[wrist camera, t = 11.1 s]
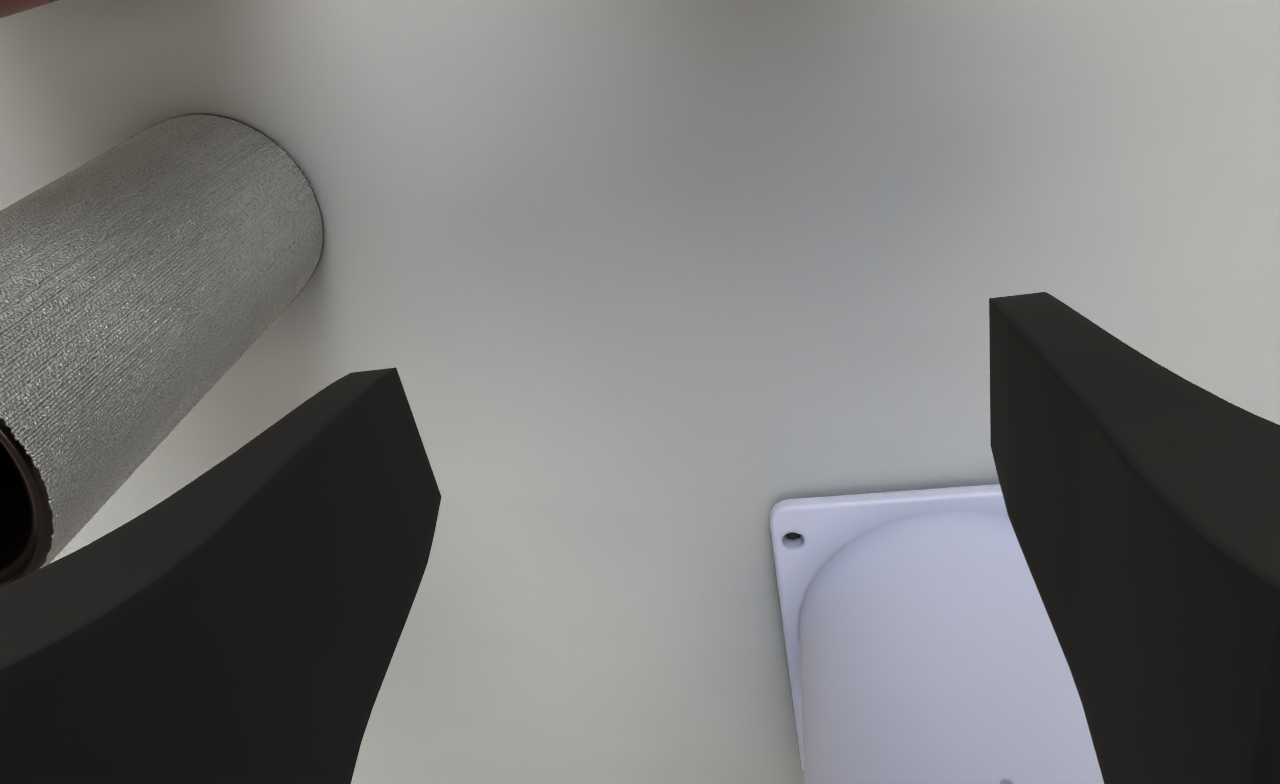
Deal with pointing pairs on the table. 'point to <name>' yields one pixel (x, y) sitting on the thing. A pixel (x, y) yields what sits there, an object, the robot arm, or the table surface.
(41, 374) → the planter
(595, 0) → the table surface
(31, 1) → the tall can
